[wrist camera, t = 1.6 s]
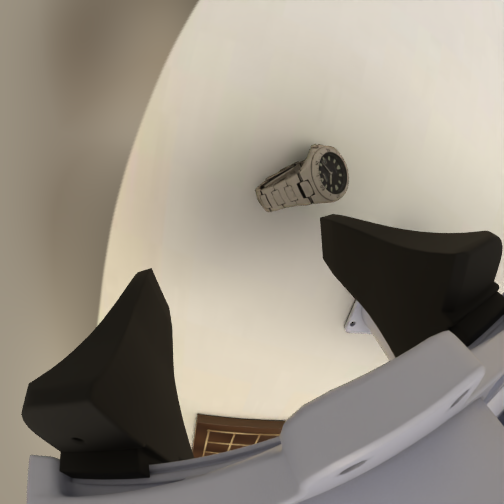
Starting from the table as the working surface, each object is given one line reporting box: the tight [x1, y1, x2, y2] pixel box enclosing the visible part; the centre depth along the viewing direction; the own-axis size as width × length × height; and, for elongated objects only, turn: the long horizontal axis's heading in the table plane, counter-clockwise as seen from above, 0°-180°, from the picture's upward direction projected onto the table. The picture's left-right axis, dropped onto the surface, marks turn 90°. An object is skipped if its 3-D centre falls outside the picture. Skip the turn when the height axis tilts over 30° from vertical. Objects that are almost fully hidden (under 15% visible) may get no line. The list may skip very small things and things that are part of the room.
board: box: [192, 414, 286, 458], centre depth 31 cm, size 15×15×1 cm
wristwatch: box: [255, 144, 349, 212], centre depth 17 cm, size 4×6×5 cm, turn 118°
